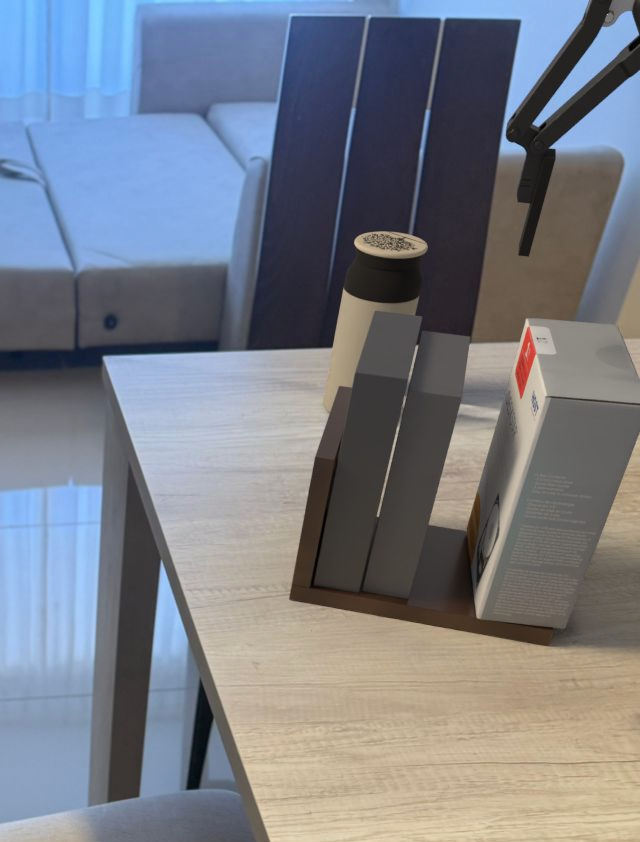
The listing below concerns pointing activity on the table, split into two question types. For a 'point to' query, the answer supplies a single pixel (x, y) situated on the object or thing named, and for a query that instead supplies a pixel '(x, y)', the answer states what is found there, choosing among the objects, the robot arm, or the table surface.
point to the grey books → (371, 449)
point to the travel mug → (373, 297)
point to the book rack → (435, 575)
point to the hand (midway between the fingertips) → (620, 260)
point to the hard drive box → (552, 470)
